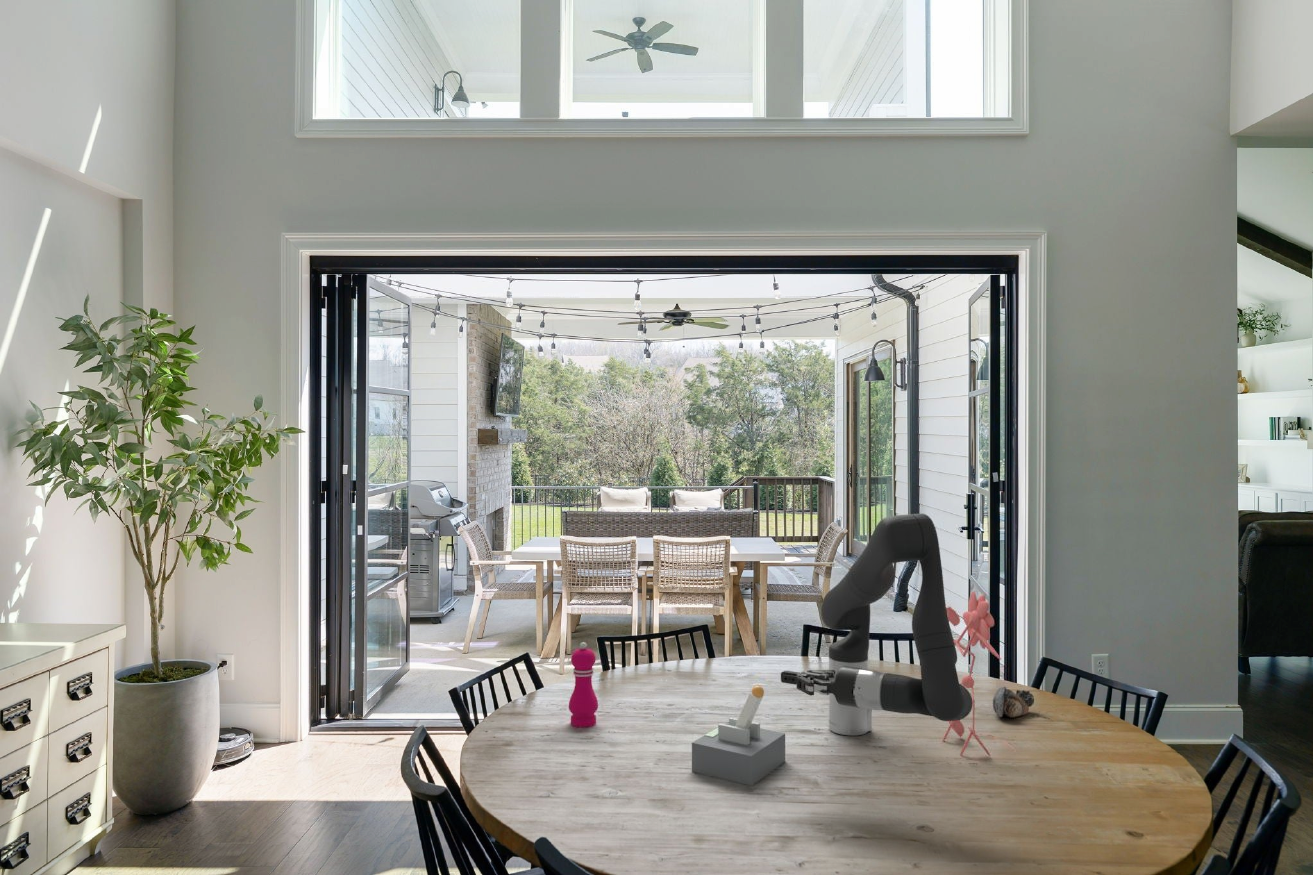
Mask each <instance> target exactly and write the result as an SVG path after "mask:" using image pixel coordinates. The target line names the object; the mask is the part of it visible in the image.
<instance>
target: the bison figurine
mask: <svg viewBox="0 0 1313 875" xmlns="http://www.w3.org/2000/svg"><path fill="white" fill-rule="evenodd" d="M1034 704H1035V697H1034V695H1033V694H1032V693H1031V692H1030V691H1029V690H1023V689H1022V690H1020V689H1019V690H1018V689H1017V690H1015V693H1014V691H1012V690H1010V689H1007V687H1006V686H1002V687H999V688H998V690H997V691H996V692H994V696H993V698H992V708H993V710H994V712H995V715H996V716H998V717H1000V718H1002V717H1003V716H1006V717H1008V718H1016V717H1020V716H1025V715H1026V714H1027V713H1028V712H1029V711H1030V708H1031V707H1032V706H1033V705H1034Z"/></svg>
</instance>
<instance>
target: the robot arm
mask: <svg viewBox="0 0 1313 875" xmlns="http://www.w3.org/2000/svg"><path fill="white" fill-rule="evenodd" d="M868 540H869V541H868V543H867V545H866V546H865V547H864V550H863V551H862V552H861V554H860V556H859V557H858V558H857V559H856V560H855V562H854V563H853V564H852V565H851V567H850V568H849V570H848V572H847V573H846V574H845V575H844V577H842V579H841V580H839V582H838V583H837V584H836V585H835V586H834V587H832V588H831V589H830V590H829V591H827V593H826V594H825V595H824V598H823V601H822V603H821V608H820V615H821V619H822V622H823V624H824V625H825V626H826V627H827V628H828V629H830V630H833V631H849V633H848V634H847V635H846V636H845V637H843V638H842V639H840V640H837V641H836V642H833V643H831V644H830V645H829V647H828V669H815V670H814V669H813V670H812V669H809V670H806V671H800V672H799V671H791V670H783V671H781V672H780V682H781V683H783V684H789V685H796V689H797V690H798V691H801V692H802V693H803V694H806V695H808V696H812V697H813V696H815V693H818V694H820V695H822V696H828V729H829V730H830V731H831V732H833V733H835V734H839V735H843V736H862V735H865V734H867V733H868V732H871V731H872V730H873V728H872V727H873V723H872V722H873V716H872V713H873V712H872V711H885V712H890V713H891V712H892V713H899V714H910V715H911V714H917V715H923V716H929V717H934V718H935V719H936V720H937V719H938V720H940V721H942V722H949V721H957V720H960V721H961V720H964V719H965V718H966V717H968V715H969V714H970V713H971V711H972V710H973V696H972V693H970V691H969V690H968V688H966V687H964V686H963V685H961V683H960V681H959V676H958V672H957V667H956V665H957V662H958V652H957V649H956V645H955V644H954V641H955V640H954V637H953V632H952V629H951V625H950V621H949V620H948V616H947V610H946V608H947V605H946V598H945V597H946V595H945V587H944V586H945V584H944V575H943V567H942V560H941V559H942V558H941V557H942V556H941V551H940V549H941V548H940V543H939V537H938V533H937V529H936V526H935V524H934V522H933V520H932V519H931V517H930V516H929V515H927V514H926V513H910V514H909V513H908V514H897V515H890V516H886V517H883V518H882V519H881V520H880V521H878V523H877V525H876V527H875V528H874V530H873V533H872V534H871V537H870V538H869V539H868ZM914 561H919V564H920V568H921V577H922V578H921V586H920V589H919V593H918V597H917V600H916V602H915V606H914V609H913V612H912V617H911V630H912V635H913V639H914V644H915V648H916V649H915V650H916V652H917V656H918V659H919V664H920V678H915V677H913V676H908V675H903V674H897V673H890V672H883V671H879V670H875V669H870V668H869V649H870V631H871V630H870V629H871V627H870V625H871V604H873V603H876V602H877V601H879V600H881V599H882V598H883V597H885V595H886V594H887V593H888V592H889V590H890V589H891V588H892V586H893V585H894V584H895V580H896V570H895V567H894V564H895V563H896V564H898V563H904V562H905V563H906V562H907V563H908V562H914Z"/></svg>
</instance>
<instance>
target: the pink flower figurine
mask: <svg viewBox="0 0 1313 875" xmlns="http://www.w3.org/2000/svg"><path fill="white" fill-rule="evenodd" d="M967 609H968V611H964V612H963V613H962V620H963V622H964V624H965V625H966V626H965V628H964V630H963V631H962V632H961V634H960V635H959V637H958V638H957V639H956V640H954V644H955V646H957V648H958V650H959V652H960V653H961V655H962V657H963V658H965V657H966V655H967V653H968V654H969V655H971V656H972V659H971V665H970V671H969V675H965V676H963V677H962V679H961V683H960V684H961V685H962V686H964V687H965V688H966V689H971V697H972V701H973V706H972V728H971V726H969V727H968V730H969V731H970V733H969V734H968V736H967V739H966V740H965V742H964V745H963V747H962V748H961V751H960V753H959V755H960V756H963V754H964V752H965V750H966V748H967V746H968V744H969V742H970V740H971V738H972V736H973V737H974V739H975V740H976V742H977V743H978V744H979V745H980V746H981V747H982V749H983V750H984V752H985V753H986V754H987V755H988V757H991V754H990V753H989V751H988V750H987V748H986V746H985V745H984V743H983V741H981V740H980V738H979V736H977V734H980V735H983V736H986V737H990V738H993V739H994V740H995V739H996V740H999V741H1000V742H1003V743H1005V744H1006V745H1008V746H1010V747H1011V748H1012V750H1014V751H1016V749H1014V747H1013V746H1012V744H1011V743H1010V742H1006V741H1004V740H1001V739H999V738H997V737H995V736H994V735H991V734H990V735H989V734H986V733H985V734H984V733H980V732H976V730H975V714H976V713H975V712H976V711H975V708H976V707H975V706H976V701H975V695H974V694H975V693H974V692H975V691H974V686H975V679H974V678H973V676H972V673H973V668H974V665H975V660H976V655H975V654H974V653H973V652H972V651H970V650H969V649H970V647H975V646H976V645H977V644H978V642H979V645H980V647H981V648H982V649H984V650H985V649H987V650H988V651H989V652H990V653H991V654H992V656H994V657H996V658H997V659H998V660H1002V658H1001V657H1000V655H999V654H998V652H997V650H995V648H994V647H993V646H992V645H991V644H990V643H989V640H990V639H991V633H990V632H991V631H990V628H992V627H994V626H995V619H994V617H993V615H992V614H991V613H989V610H990V603H989V602H988V601H986V595H985V594H981V595H979V597H977V596H976V592H975V591H971V592H970V596H969V600H968V603H967ZM946 610H947V616H948V620H949V623H950V624H952V625H953V627H957V626H958V625H959V624H960V622H961V618H960V616H959V615H958V613H957V612H956V610H954V609H953V608H952V607H951V606H950V605H949V606H946ZM966 633H967V634H968V635H969V641H968V643H967V645H966V647H964V646H963V645H961V644H960V642H961V639H962V638H963V637H964V636H965V634H966ZM963 650H964V651H963ZM948 724H949V725H948V727H947V730H946V731H945V733H944V736H943V737H942V739H941V741H943V742H945V741H946V740H947V737H948V735H949V733H950V731H951V729H952V730H953V731H954V732H955V734H957V735H958V736H959V737H960V738H961V737H963V735H964V734H965V726H964V724H963V723H962V721H961V720H957V721H948ZM968 764H970V765H978V763H974V762H968Z"/></svg>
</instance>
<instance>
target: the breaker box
mask: <svg viewBox="0 0 1313 875" xmlns="http://www.w3.org/2000/svg"><path fill="white" fill-rule="evenodd" d="M737 721H738V718H736V717H730V718H729V719H728V722H726V723H719V724H718V726H717V727H716V728H715V729H713V730H711V731H709V732H707V733H706V734H704V735H702V736H701V737H699V738H697V739H695V740H693V741H692V742H691V772H694V773H697V774H701V775H704V776H705V775H706V776H710V777H714V778H718V779H722V780H725V781H730V782H734V783H739V784H743V785H745V786H751V787H752V786H754V784H756V783H757V782H759V781H760V780H761V779H763V778H765V776H767V775H769V774H770V773H771V772H772V771H774V770H775V769H777V768H778V767H779V766H781V765H782V764H783V763H785V762H786V733H785V732H780V731H776V730H775V731H774V730H770V729H764V728H761V723H760V722H757V721H752V723H751V725H750V727H749V729H745V728H740V727H736V726H735V725H736V723H737Z"/></svg>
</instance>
